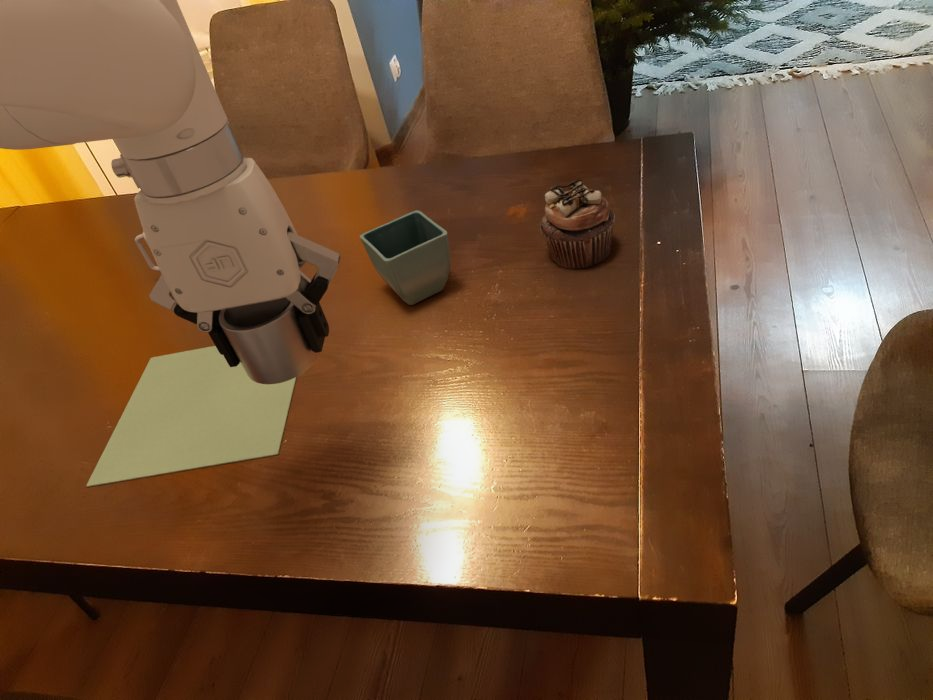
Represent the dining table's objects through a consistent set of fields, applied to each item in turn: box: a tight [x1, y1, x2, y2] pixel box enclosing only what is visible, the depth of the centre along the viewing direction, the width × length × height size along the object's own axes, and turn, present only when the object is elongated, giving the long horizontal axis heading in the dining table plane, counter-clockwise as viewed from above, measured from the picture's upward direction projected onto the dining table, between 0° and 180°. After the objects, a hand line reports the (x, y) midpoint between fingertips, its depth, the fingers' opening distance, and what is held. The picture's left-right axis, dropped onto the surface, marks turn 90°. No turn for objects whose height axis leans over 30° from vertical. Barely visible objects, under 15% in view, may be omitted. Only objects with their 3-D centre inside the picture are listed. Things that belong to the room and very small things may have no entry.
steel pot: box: [219, 297, 321, 384], centre depth 58 cm, size 7×7×6 cm
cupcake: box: [539, 179, 616, 270], centre depth 87 cm, size 10×10×10 cm
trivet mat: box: [85, 345, 298, 488], centre depth 82 cm, size 22×22×1 cm
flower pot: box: [359, 209, 451, 306], centre depth 88 cm, size 9×9×9 cm
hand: (278, 348), depth 59 cm, fingers closed on steel pot, 6 cm apart
